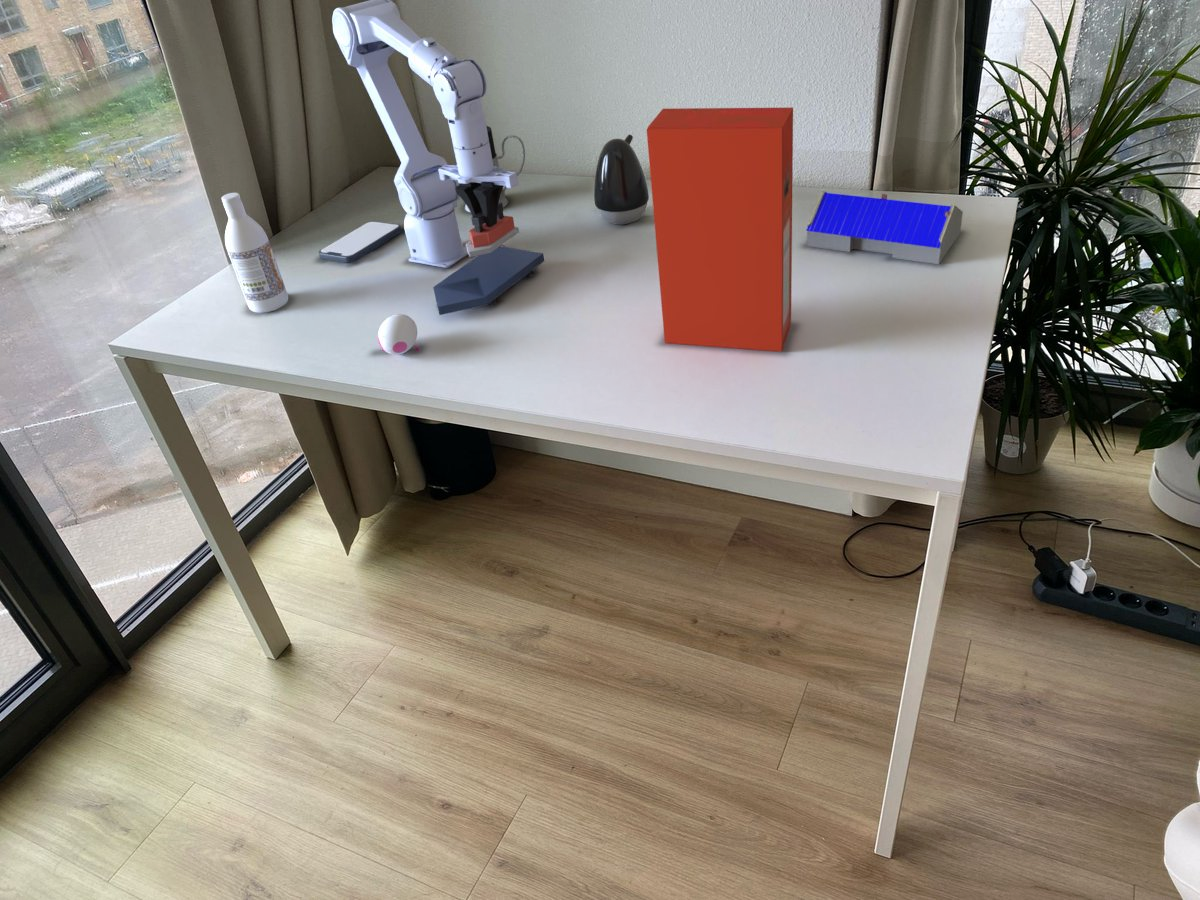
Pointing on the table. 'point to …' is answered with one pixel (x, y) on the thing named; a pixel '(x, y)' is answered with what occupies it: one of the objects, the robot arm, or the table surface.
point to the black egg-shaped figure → (620, 183)
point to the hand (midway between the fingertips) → (486, 224)
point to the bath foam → (252, 259)
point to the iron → (490, 233)
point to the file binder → (723, 224)
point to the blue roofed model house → (884, 226)
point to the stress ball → (397, 334)
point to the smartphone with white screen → (360, 242)
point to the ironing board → (485, 279)
